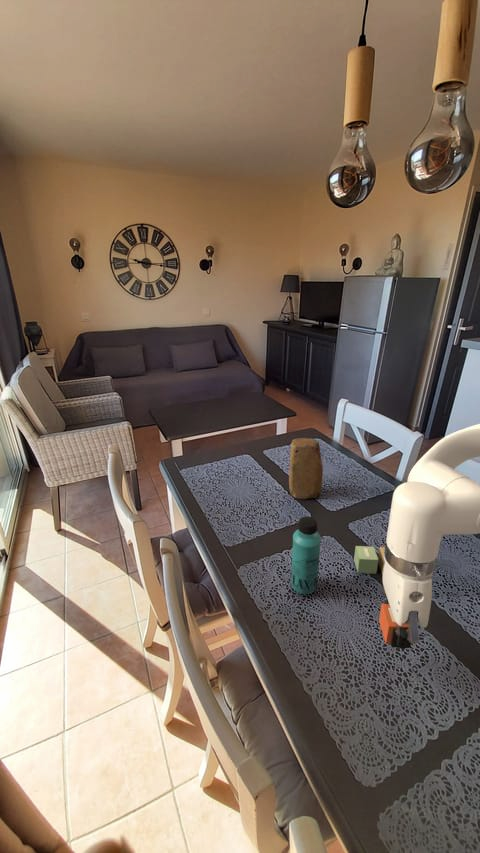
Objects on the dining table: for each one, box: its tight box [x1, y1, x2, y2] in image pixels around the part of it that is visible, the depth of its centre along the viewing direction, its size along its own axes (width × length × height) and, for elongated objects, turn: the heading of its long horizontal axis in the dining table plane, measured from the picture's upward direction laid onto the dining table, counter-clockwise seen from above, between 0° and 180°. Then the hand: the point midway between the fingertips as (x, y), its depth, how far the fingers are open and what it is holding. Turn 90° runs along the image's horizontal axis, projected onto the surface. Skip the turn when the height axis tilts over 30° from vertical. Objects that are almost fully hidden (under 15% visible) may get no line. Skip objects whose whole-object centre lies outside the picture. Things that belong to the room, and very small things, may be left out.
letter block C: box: [378, 603, 414, 646], centre depth 65 cm, size 5×5×5 cm
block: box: [288, 437, 324, 500], centre depth 119 cm, size 11×8×20 cm
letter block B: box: [353, 545, 379, 575], centre depth 91 cm, size 5×5×5 cm
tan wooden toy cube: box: [377, 546, 385, 575], centre depth 91 cm, size 5×5×5 cm
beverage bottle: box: [289, 515, 322, 595], centre depth 83 cm, size 6×7×20 cm
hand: (395, 631), depth 66 cm, fingers closed on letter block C, 4 cm apart
